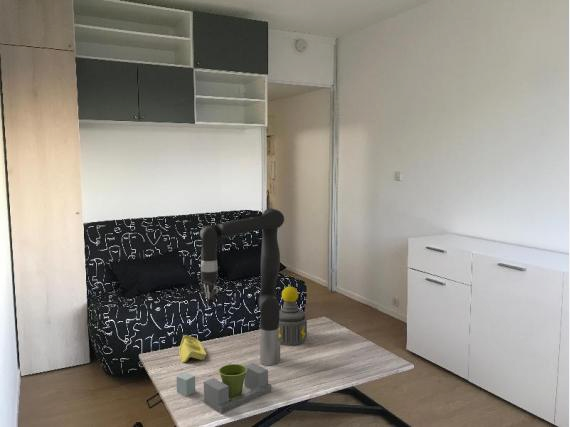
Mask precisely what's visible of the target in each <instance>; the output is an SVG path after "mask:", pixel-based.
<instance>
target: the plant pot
mask: <svg viewBox="0 0 570 427" xmlns="http://www.w3.org/2000/svg"><path fill="white" fill-rule="evenodd" d="M245 366H246V365H243V364H239V363H231V364H230V363H229V364H225V365H222V366H220V368H219V369H218V373H219V375H220V379H221V382H222V383H224V384H226V385H228V386H229V400H230V399H232V398H234V397H237V396H239V395H241V394H243V388H244V377H245V374H246V372H247V368H246V367H245Z"/></svg>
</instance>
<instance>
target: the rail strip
mask: <svg viewBox="0 0 570 427" xmlns="http://www.w3.org/2000/svg"><path fill="white" fill-rule="evenodd" d="M271 392H272V384H270V383H268V384H266V385H263V386H261V387H257V388H255V389H253V390H251V389H249V390H248V391H246V392H244V393H242V394H241V395H239V396H237V397H234V398H232V399H229V401H226V402H224V403H222V404H219V412H218V413H219V414H221V415H223V414H225V413H227V412H230V411H232V410H234V409H236V408H239V407H241V406H243V405H245V404H247V403H250V402H252V401H254V400H256V399H258V398H261V397H263V396H265V395H267V394H269V393H271Z"/></svg>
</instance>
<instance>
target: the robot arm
mask: <svg viewBox="0 0 570 427" xmlns="http://www.w3.org/2000/svg"><path fill="white" fill-rule="evenodd" d="M284 222H285V216H284V214H283V213H282V212H281V211H280V210H278V209H275V208H271V207H270V208H267V209H265V210H264V211H263V213H262V215H259V216H255V217H250V218H249V217H247V218H242V219H234V220H230V221H226V222H225V221H224V222H223V223H217V224H210V225H206V226H203V227H201V229H200V231H199V236H200V238H201V242H202V243H201V244H202V245H201V246H202V248H201V251H200V255H201V256H200V258H201V259H200V260H201V261H200V279H201V281H202V284H199V288H200V289H201V292H202V295H203V296H204V297H205V299H206V306H207V307H209V308H210V307H213V305H214V299H215V298H217V296H218V294H219V293H220V291H221V290H220V288H218V287H217V280H218V277H219V276H218V258H217V254H218V252H217V245H218V239H221V238H225V239H226V238H230V237H231V238H232V237H236V236H239V235H242V234H247V233H250V232H255V231H260V230H262V239H261V252H260V253H261V254H260V282H261V284H260V293H259V297H258V307H259V310H260V322H259V363H260V364H261V365H263V366H274V365H277V364H278V363H280V361H281V344H280V342H279V316H280V310H281V308H280V302H279V301H278V299H277V290H276V288H277V279H278V276H279V274H280V272H279V271H280V267H281V266H280V265H281V256H280V255H281V252H280V246H279V242H278V230H279V228H281V227H282V225H283V224H284Z"/></svg>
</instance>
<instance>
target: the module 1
mask: <svg viewBox="0 0 570 427" xmlns="http://www.w3.org/2000/svg"><path fill="white" fill-rule="evenodd" d="M175 378H176V393H178V394H181V395H183V396H185V397H188V396H189V395H191V394H193V393H195V392H196V375H194V374H191V373H189V372H186V371H185V372H183V373H181V374H179V375H177V376H176V377H175Z"/></svg>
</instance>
